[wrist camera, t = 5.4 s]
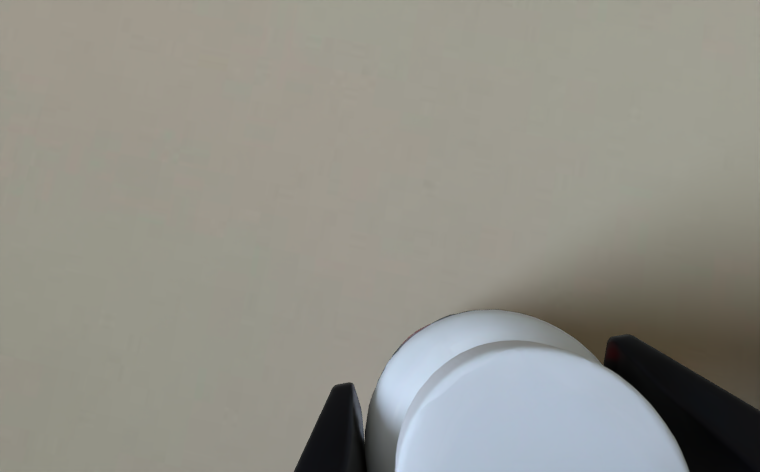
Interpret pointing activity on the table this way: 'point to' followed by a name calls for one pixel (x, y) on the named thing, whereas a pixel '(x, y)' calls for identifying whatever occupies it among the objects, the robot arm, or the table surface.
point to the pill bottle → (509, 404)
